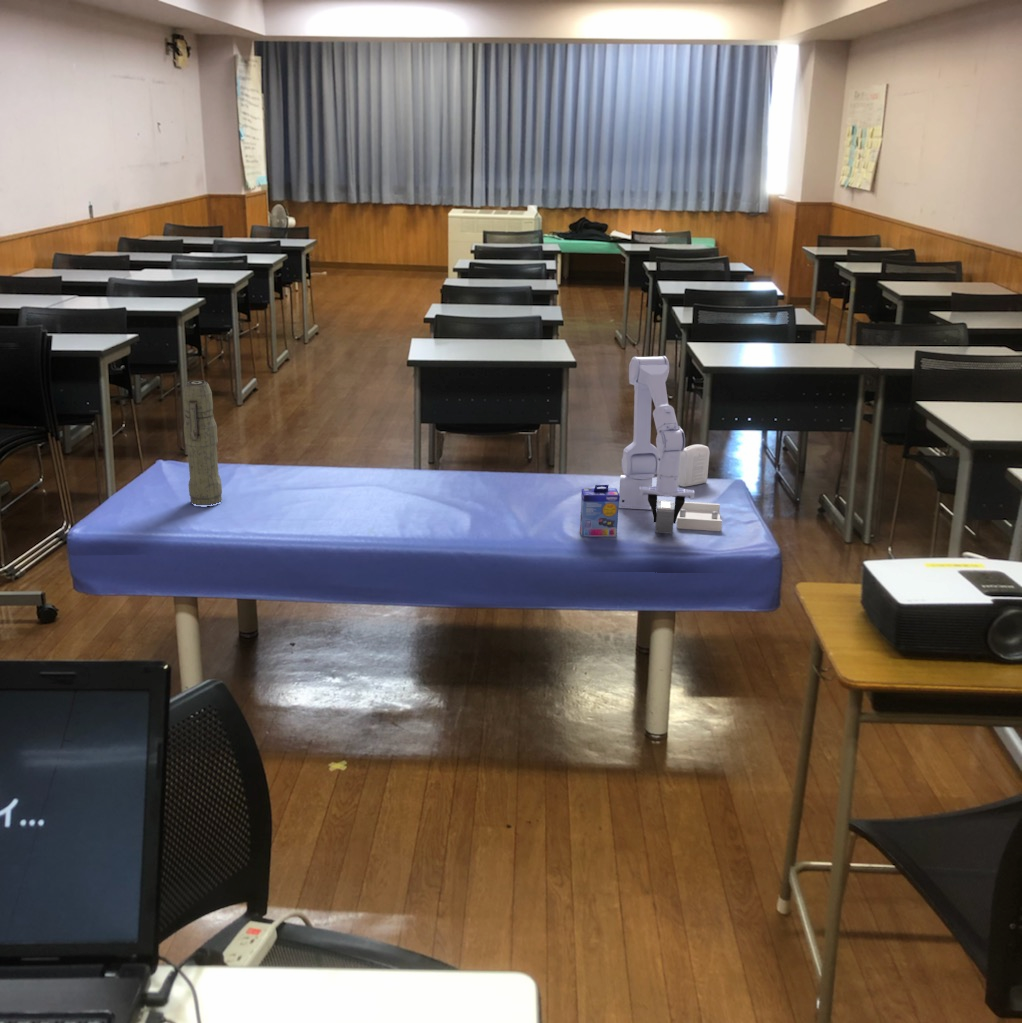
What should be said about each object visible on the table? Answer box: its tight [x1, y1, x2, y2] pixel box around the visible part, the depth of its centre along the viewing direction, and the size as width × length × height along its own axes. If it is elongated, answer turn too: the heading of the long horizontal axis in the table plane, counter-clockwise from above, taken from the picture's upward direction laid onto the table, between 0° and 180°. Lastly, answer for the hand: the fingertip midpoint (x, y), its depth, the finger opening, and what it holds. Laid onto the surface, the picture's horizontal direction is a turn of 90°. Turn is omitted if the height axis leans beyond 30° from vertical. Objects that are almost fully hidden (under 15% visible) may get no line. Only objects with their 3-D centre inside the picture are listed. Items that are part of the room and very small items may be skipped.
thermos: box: [182, 379, 223, 505], centre depth 302 cm, size 9×12×35 cm
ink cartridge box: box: [579, 484, 620, 538], centre depth 288 cm, size 10×6×14 cm, turn 95°
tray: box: [676, 501, 723, 532], centre depth 301 cm, size 12×14×3 cm
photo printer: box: [678, 443, 711, 488], centre depth 330 cm, size 10×4×12 cm, turn 123°
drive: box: [655, 499, 675, 534], centre depth 290 cm, size 4×9×6 cm, turn 172°
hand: (664, 521), depth 291 cm, fingers closed on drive, 4 cm apart
